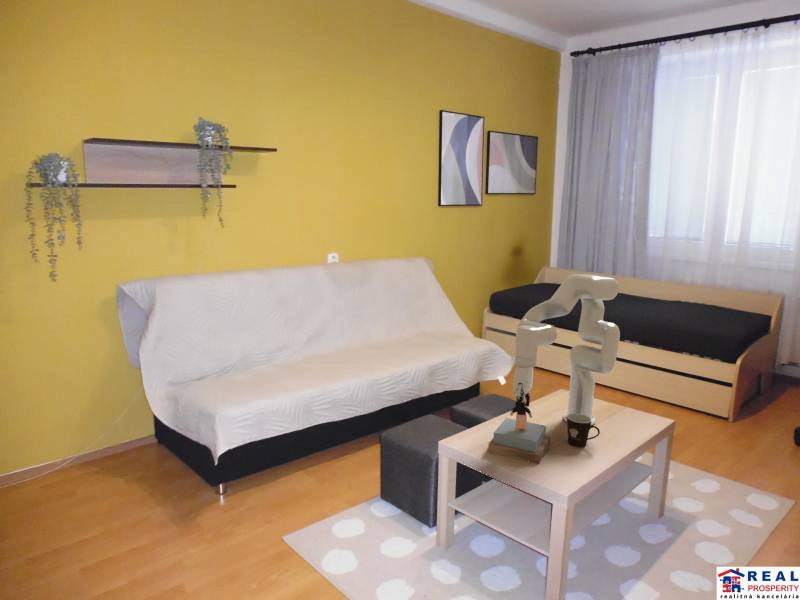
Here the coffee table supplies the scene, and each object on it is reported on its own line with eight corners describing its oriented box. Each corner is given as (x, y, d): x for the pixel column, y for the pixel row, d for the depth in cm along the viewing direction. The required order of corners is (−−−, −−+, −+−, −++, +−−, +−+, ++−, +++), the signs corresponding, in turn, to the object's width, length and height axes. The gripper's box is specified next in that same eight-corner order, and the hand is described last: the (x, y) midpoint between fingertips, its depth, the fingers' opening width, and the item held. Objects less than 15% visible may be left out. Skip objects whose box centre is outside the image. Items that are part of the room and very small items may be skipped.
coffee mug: (560, 440, 208) (562, 415, 206) (579, 437, 211) (581, 412, 209) (580, 453, 197) (582, 427, 195) (599, 450, 200) (602, 424, 198)
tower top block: (505, 427, 210) (506, 417, 209) (545, 436, 203) (546, 425, 203) (493, 442, 197) (494, 432, 196) (535, 452, 190) (536, 441, 189)
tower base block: (502, 435, 213) (502, 425, 212) (549, 445, 205) (550, 435, 204) (488, 454, 197) (488, 443, 196) (538, 465, 189) (539, 455, 188)
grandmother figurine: (529, 427, 201) (531, 394, 198) (532, 432, 197) (534, 398, 194) (508, 427, 200) (510, 394, 198) (510, 432, 197) (512, 398, 194)
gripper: (521, 353, 204) (518, 399, 207) (508, 365, 189) (505, 415, 192) (541, 356, 201) (538, 403, 204) (529, 369, 185) (526, 419, 189)
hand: (522, 408), depth 198 cm, fingers open, 6 cm apart
